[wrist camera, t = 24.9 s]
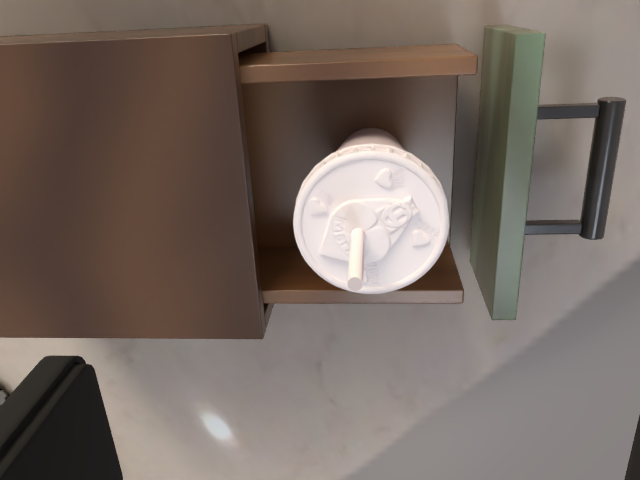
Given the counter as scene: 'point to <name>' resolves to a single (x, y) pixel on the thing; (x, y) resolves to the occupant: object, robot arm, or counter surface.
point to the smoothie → (371, 215)
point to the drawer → (414, 153)
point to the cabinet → (128, 186)
